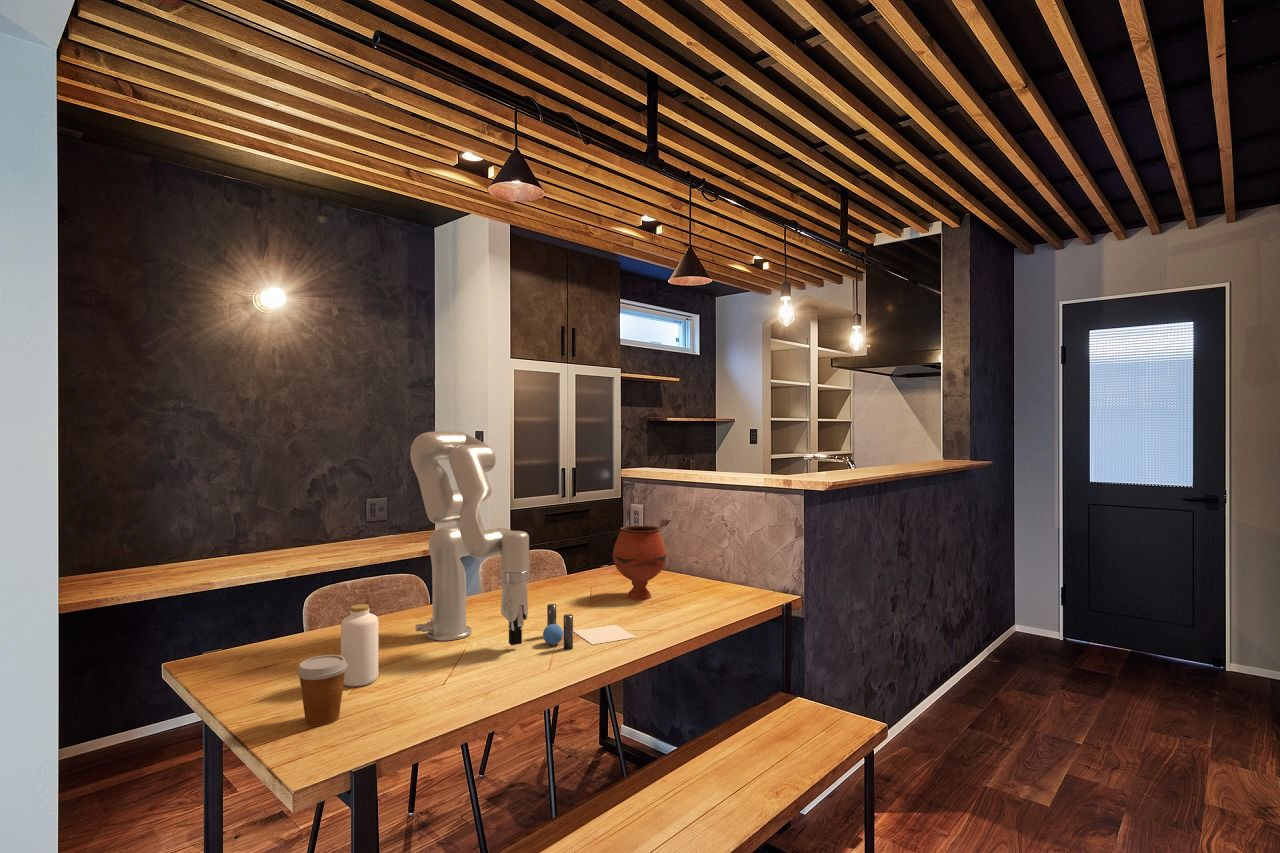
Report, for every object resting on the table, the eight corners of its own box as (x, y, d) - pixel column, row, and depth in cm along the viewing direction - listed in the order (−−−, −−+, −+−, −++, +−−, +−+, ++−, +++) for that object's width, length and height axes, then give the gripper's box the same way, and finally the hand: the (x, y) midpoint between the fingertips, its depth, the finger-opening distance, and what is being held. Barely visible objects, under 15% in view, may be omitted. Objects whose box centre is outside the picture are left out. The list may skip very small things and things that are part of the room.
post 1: (549, 637, 193) (549, 606, 193) (546, 635, 195) (546, 604, 195) (557, 636, 194) (557, 605, 194) (554, 634, 196) (554, 603, 196)
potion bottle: (367, 672, 165) (367, 600, 165) (385, 680, 160) (385, 605, 160) (334, 682, 159) (334, 606, 159) (351, 691, 154) (351, 612, 154)
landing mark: (592, 645, 186) (592, 644, 186) (573, 631, 198) (573, 631, 198) (636, 637, 193) (636, 636, 193) (615, 625, 205) (615, 624, 205)
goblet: (676, 595, 243) (676, 526, 243) (647, 606, 227) (647, 533, 227) (632, 588, 253) (632, 522, 253) (602, 599, 237) (602, 528, 237)
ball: (566, 644, 185) (546, 648, 183) (560, 640, 190) (541, 644, 188) (564, 624, 186) (545, 628, 183) (558, 620, 191) (539, 624, 189)
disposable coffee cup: (321, 733, 132) (321, 672, 132) (286, 725, 136) (286, 666, 136) (357, 714, 141) (357, 657, 141) (323, 707, 145) (323, 651, 145)
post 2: (565, 650, 182) (565, 617, 182) (562, 647, 184) (562, 615, 184) (574, 649, 183) (574, 616, 183) (570, 646, 185) (570, 613, 185)
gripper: (494, 573, 188) (494, 638, 188) (510, 583, 175) (510, 654, 174) (519, 570, 191) (520, 634, 191) (537, 580, 178) (537, 649, 178)
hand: (515, 643), depth 183 cm, fingers closed
